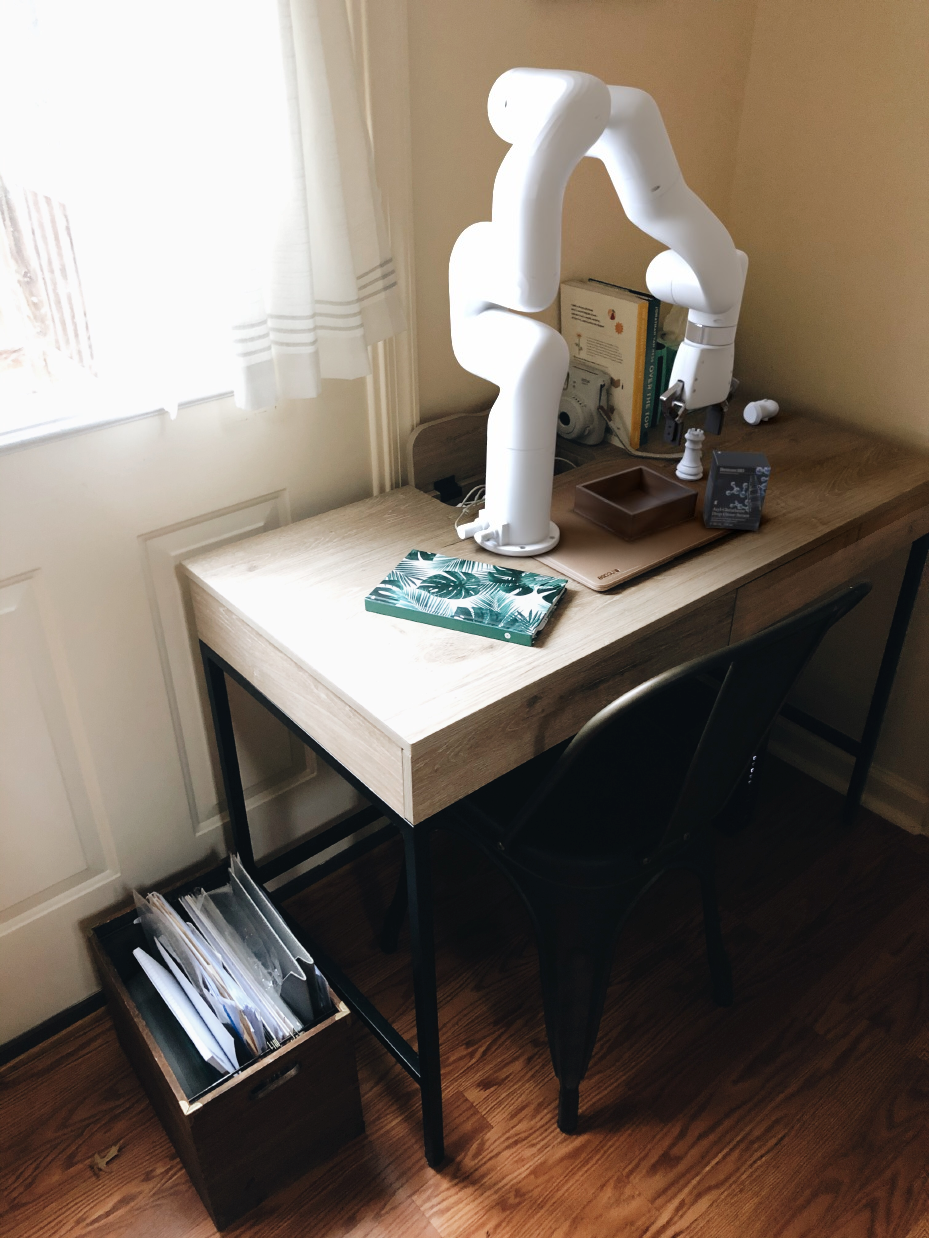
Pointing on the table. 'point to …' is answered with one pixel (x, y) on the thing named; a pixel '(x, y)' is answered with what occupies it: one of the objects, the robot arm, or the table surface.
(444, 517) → the table surface
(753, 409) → the smooth white sculpture
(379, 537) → the table surface
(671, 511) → the tray
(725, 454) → the box
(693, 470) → the rook chess piece
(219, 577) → the table surface
